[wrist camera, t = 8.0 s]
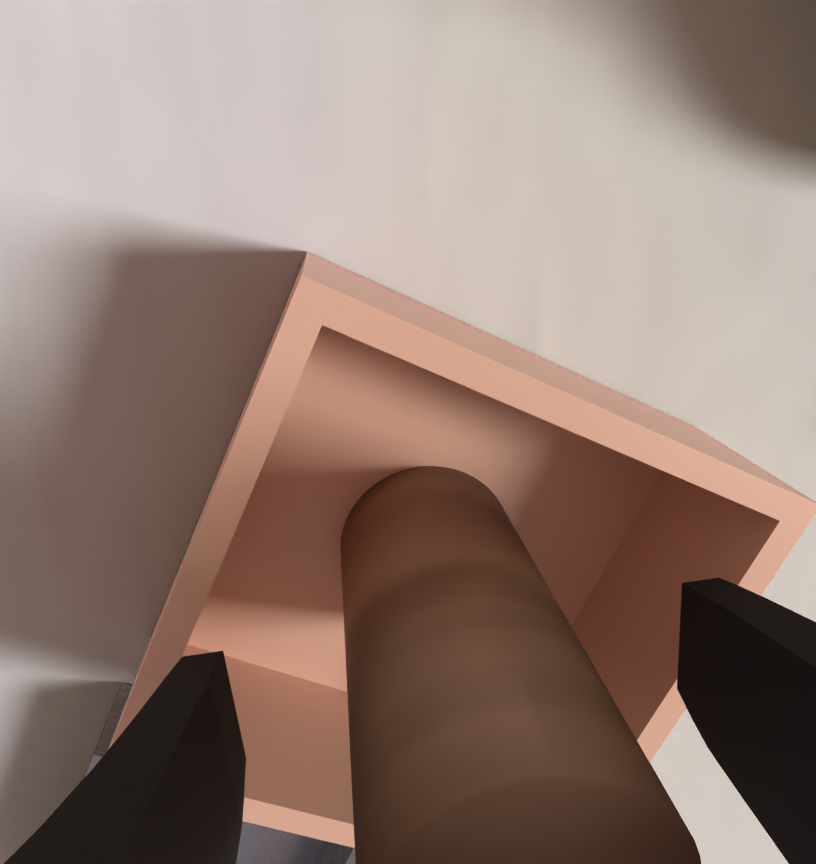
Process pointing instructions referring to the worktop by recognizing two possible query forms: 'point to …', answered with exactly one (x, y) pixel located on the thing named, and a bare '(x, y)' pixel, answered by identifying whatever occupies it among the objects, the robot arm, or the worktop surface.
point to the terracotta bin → (464, 451)
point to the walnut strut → (480, 697)
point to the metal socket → (259, 846)
